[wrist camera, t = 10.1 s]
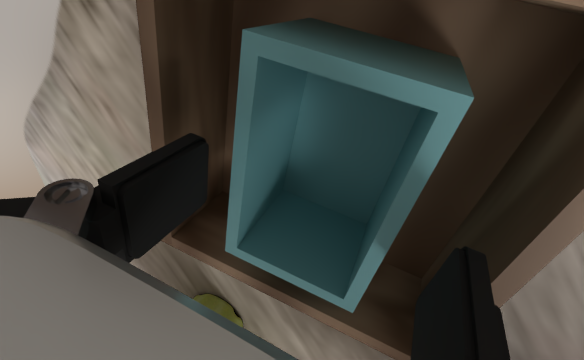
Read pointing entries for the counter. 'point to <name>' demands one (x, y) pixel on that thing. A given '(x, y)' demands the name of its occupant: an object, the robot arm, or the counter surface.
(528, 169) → the crate large
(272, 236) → the box
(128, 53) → the counter surface
